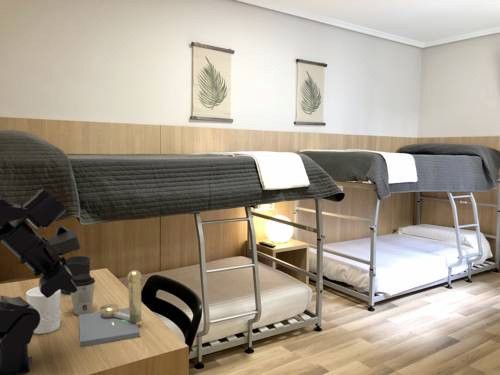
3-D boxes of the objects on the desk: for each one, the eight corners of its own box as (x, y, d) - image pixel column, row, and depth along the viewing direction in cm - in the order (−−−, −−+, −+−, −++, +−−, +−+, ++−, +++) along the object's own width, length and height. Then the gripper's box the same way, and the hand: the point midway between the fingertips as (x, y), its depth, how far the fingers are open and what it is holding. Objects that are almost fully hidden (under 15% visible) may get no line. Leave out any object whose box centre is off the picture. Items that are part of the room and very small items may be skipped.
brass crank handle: (97, 315, 112) (95, 267, 110) (109, 310, 116) (108, 262, 114) (135, 325, 106) (133, 273, 105) (146, 319, 110) (145, 269, 109)
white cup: (30, 324, 110) (28, 287, 109) (63, 320, 113) (61, 283, 112) (26, 337, 103) (24, 297, 102) (61, 332, 105) (59, 293, 104)
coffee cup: (90, 316, 115) (89, 281, 114) (65, 316, 115) (63, 281, 114) (99, 307, 122) (98, 273, 121) (75, 307, 122) (74, 273, 121)
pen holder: (58, 288, 138) (56, 258, 137) (88, 283, 142) (87, 254, 141) (60, 297, 130) (59, 265, 129) (92, 292, 134) (91, 261, 133)
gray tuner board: (139, 336, 103) (139, 331, 103) (80, 346, 98) (79, 341, 98) (131, 311, 119) (131, 307, 118) (79, 319, 113) (79, 314, 113)
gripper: (67, 233, 83) (115, 283, 91) (53, 207, 98) (95, 252, 106) (17, 272, 80) (71, 320, 88) (11, 239, 95) (57, 283, 103)
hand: (75, 290), depth 96 cm, fingers closed
